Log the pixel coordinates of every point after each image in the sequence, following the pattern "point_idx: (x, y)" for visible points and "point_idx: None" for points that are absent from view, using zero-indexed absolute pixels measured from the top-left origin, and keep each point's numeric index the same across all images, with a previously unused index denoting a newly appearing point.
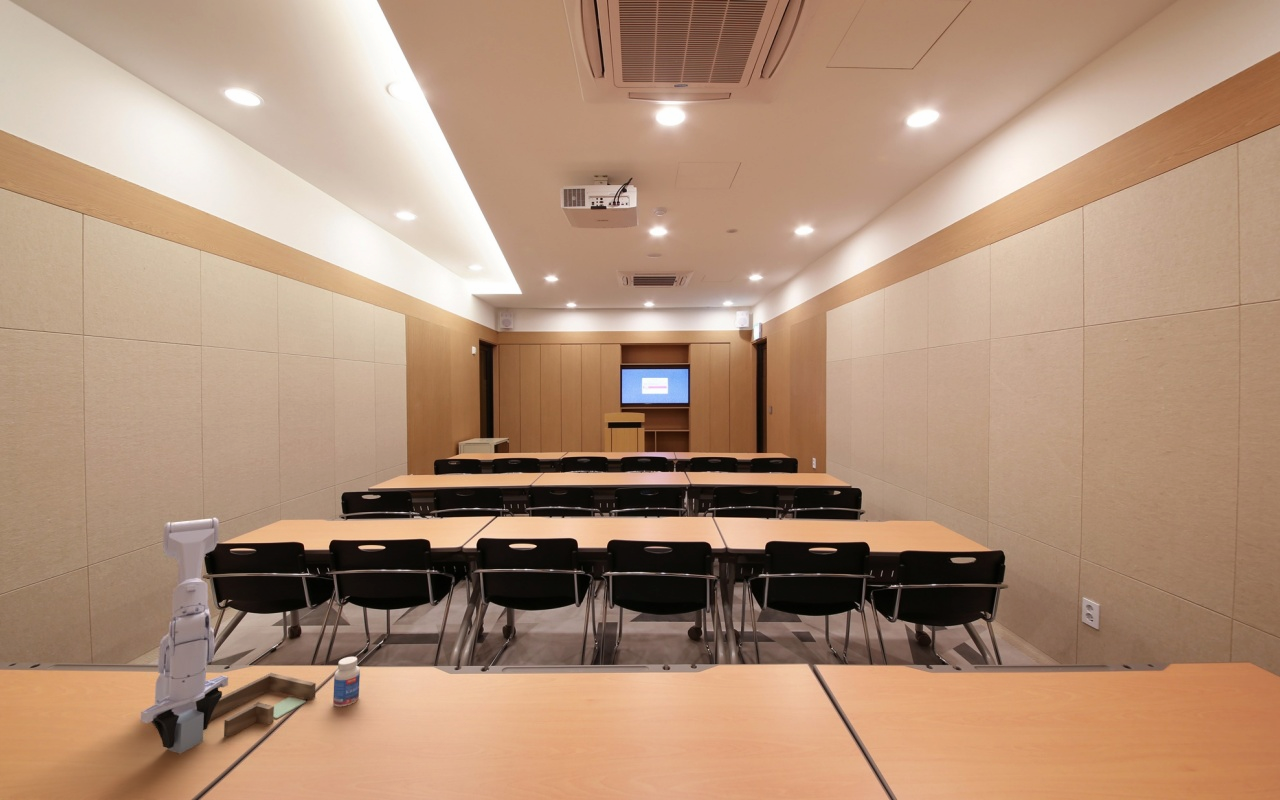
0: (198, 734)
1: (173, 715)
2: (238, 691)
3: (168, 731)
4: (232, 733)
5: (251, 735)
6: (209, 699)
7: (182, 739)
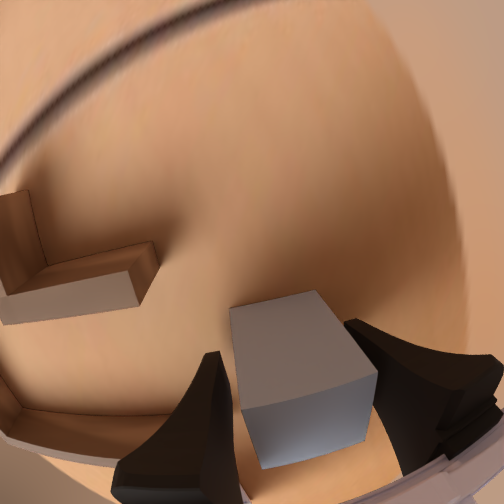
0: (253, 328)
1: (465, 405)
2: (74, 452)
3: (425, 348)
4: (130, 247)
5: (87, 160)
6: (209, 484)
7: (330, 320)
